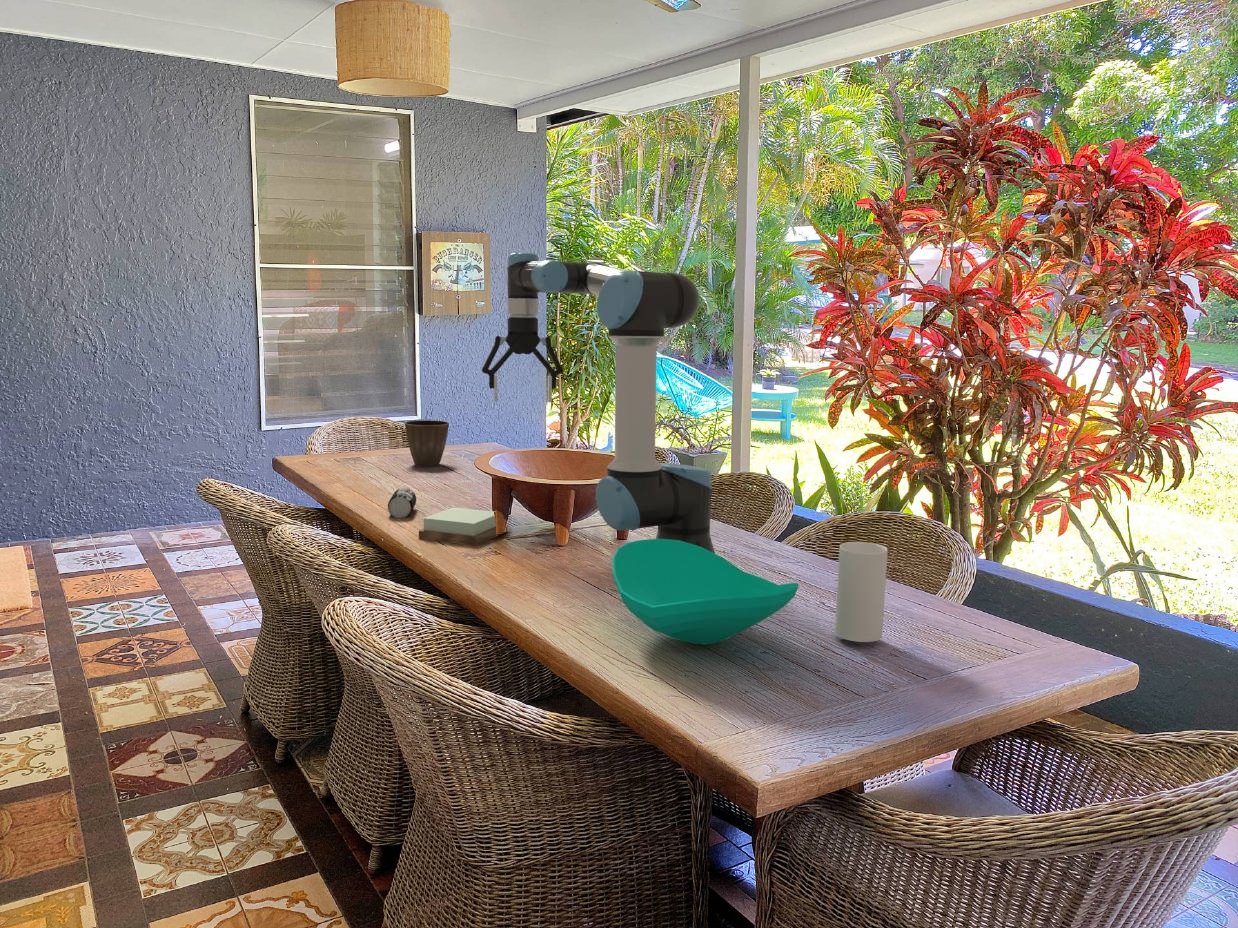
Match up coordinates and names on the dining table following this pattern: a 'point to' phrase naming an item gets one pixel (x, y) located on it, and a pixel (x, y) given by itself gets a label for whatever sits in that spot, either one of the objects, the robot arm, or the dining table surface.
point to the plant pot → (426, 441)
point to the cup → (861, 591)
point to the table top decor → (693, 591)
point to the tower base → (458, 537)
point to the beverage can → (402, 503)
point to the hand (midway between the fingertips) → (522, 401)
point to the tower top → (460, 521)
